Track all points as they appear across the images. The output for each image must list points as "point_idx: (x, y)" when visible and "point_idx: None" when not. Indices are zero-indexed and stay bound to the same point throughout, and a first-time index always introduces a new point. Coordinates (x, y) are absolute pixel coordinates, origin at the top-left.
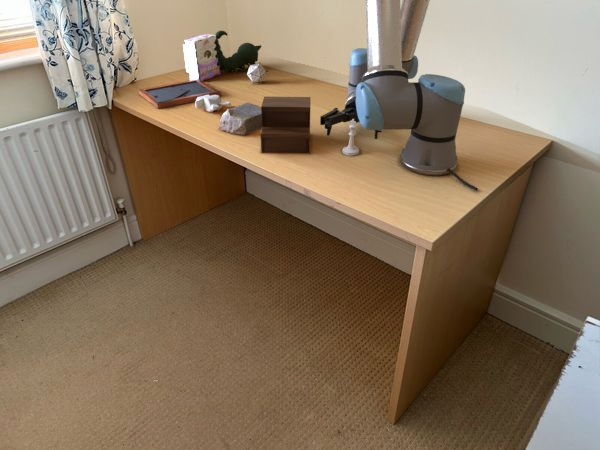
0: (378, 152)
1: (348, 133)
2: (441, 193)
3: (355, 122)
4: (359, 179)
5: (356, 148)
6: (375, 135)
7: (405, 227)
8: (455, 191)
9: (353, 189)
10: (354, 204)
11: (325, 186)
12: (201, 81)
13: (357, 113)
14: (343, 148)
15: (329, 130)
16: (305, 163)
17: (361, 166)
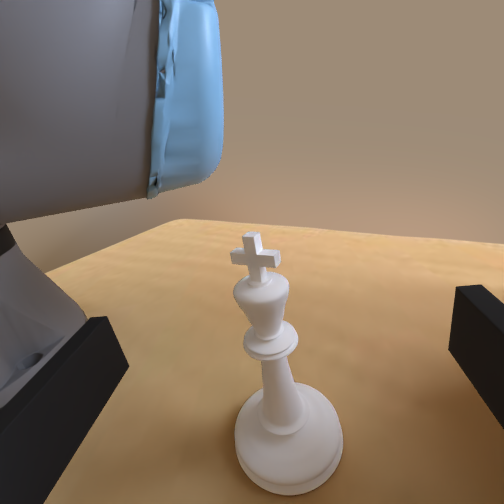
0: (118, 460)
1: (297, 340)
2: (90, 275)
3: (236, 252)
4: None
5: (249, 426)
6: (116, 348)
7: (199, 221)
8: None
9: None
10: (265, 228)
11: (331, 242)
12: None
13: (223, 123)
14: (335, 425)
15: (453, 312)
16: None
17: (239, 322)
